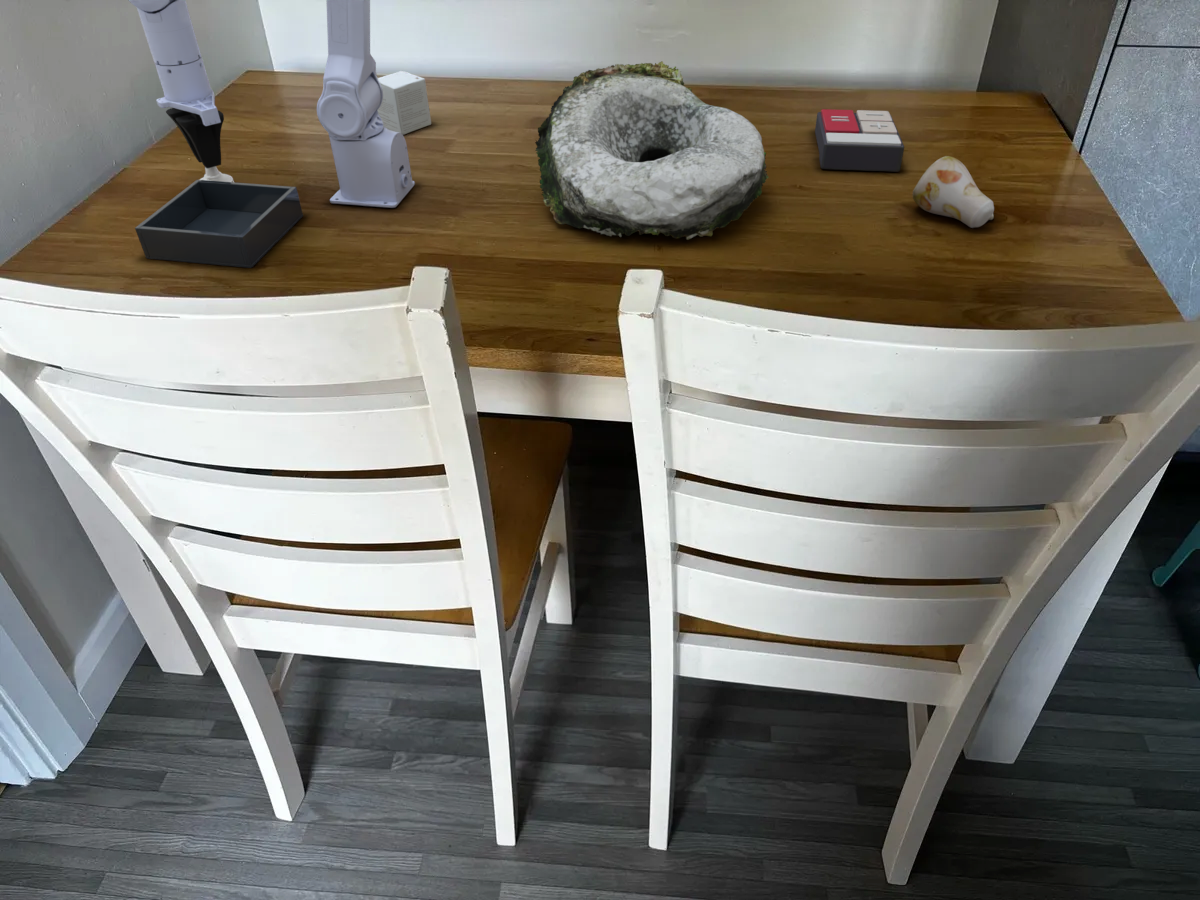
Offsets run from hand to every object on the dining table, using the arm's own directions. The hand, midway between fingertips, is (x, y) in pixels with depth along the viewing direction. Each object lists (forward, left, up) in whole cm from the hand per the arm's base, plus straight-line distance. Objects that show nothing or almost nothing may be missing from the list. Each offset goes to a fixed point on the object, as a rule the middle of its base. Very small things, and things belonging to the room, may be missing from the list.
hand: (209, 162), depth 123 cm
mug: (-99, -9, -4) cm, 99 cm away
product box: (-17, -28, -4) cm, 33 cm away
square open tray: (-8, +12, -4) cm, 15 cm away
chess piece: (0, 0, -3) cm, 3 cm away
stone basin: (-60, -7, -4) cm, 61 cm away
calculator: (-87, -29, -4) cm, 92 cm away
